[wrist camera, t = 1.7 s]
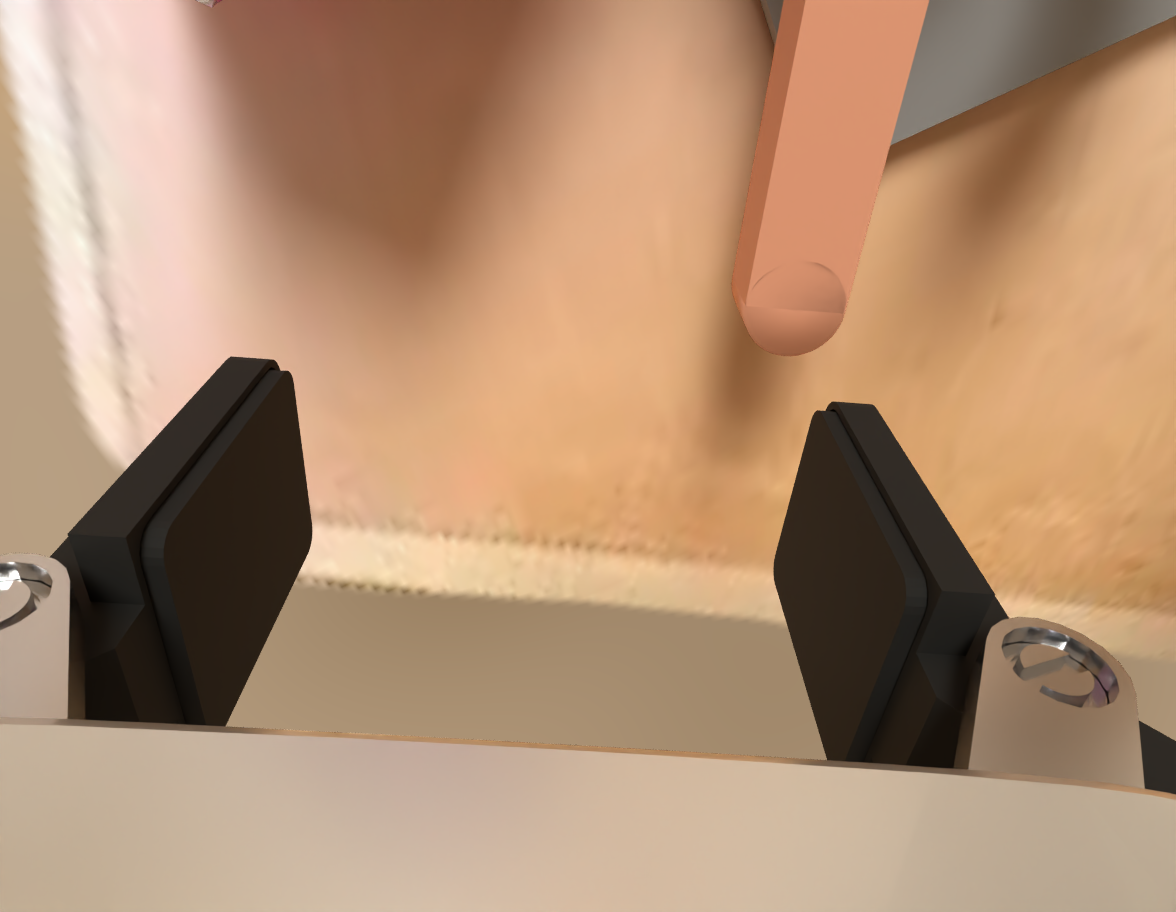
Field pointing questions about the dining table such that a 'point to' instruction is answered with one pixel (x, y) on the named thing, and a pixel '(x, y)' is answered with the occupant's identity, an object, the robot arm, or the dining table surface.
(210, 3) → the gum box
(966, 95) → the board
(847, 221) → the latch arm
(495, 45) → the dining table surface
